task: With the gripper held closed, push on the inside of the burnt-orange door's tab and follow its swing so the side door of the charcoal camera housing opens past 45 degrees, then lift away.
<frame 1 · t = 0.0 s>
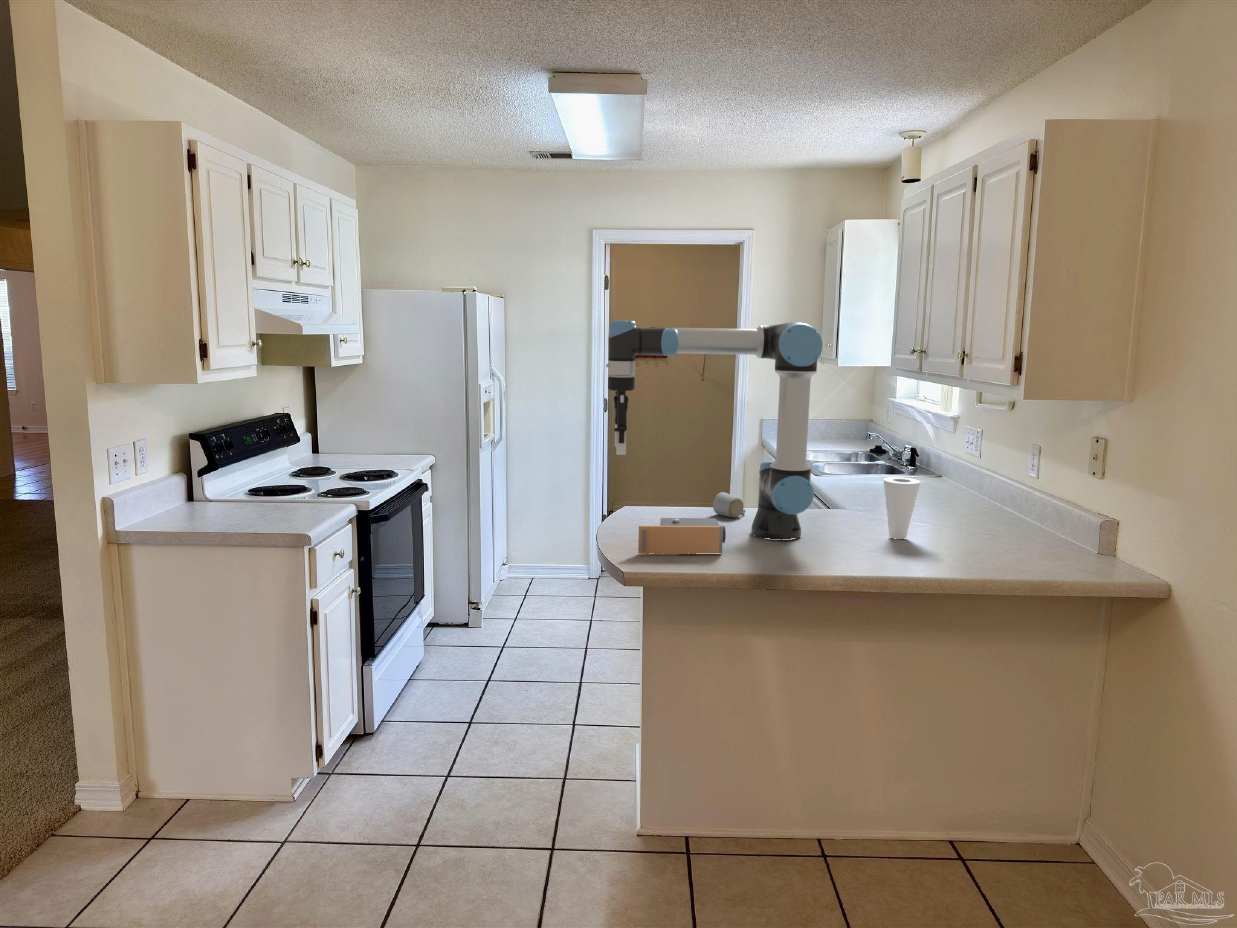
hand: (620, 450, 238), 28 cm above the counter, tool pointing down, fingers open, 13 cm apart
camera housing: (689, 549, 240), on the counter
ceramic mug: (730, 516, 282), on the counter
door: (680, 540, 233), point 4 cm above the counter, hinge at 0.0°
cup: (897, 538, 257), on the counter
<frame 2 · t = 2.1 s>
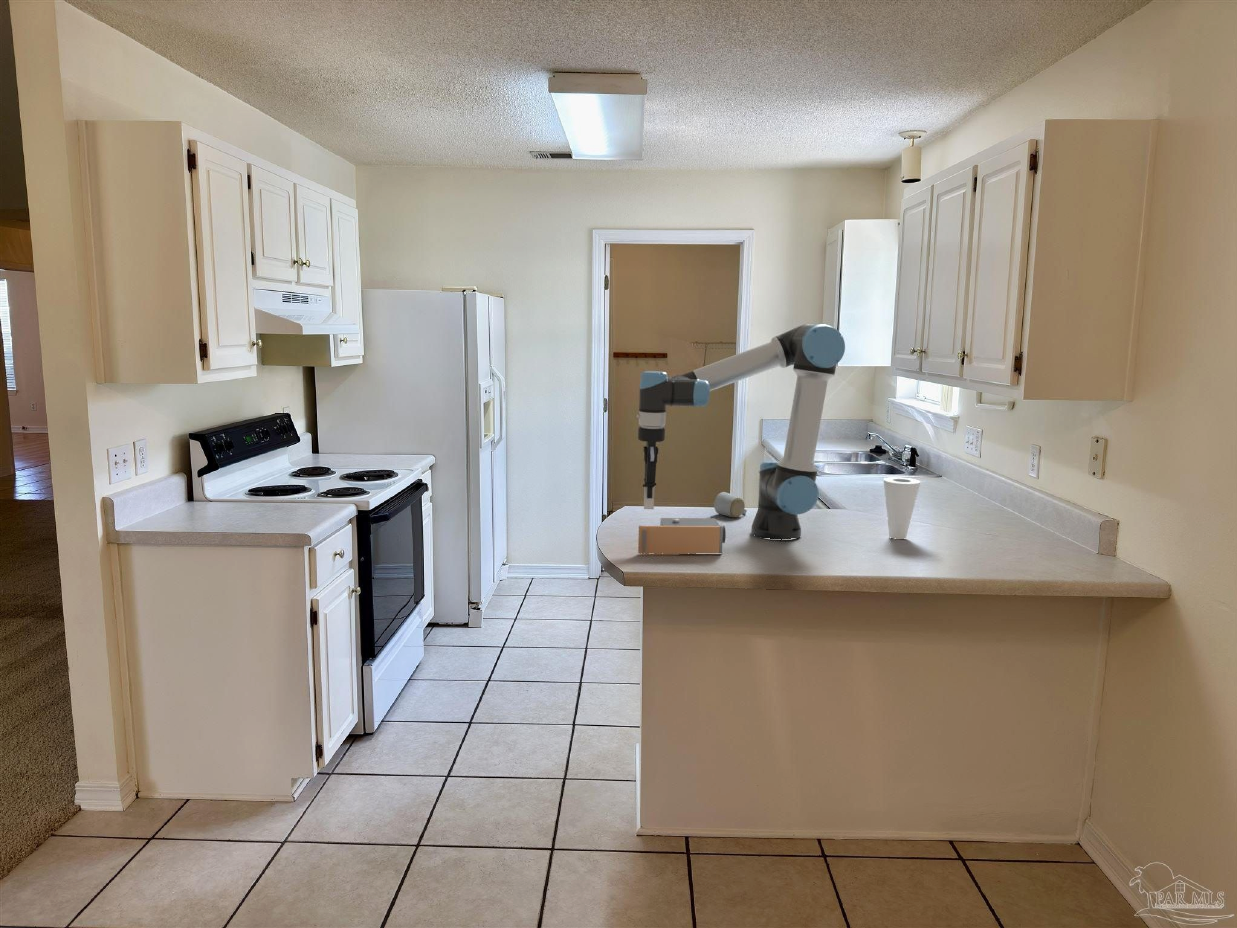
hand: (648, 508, 238), 12 cm above the counter, tool pointing down, fingers closed
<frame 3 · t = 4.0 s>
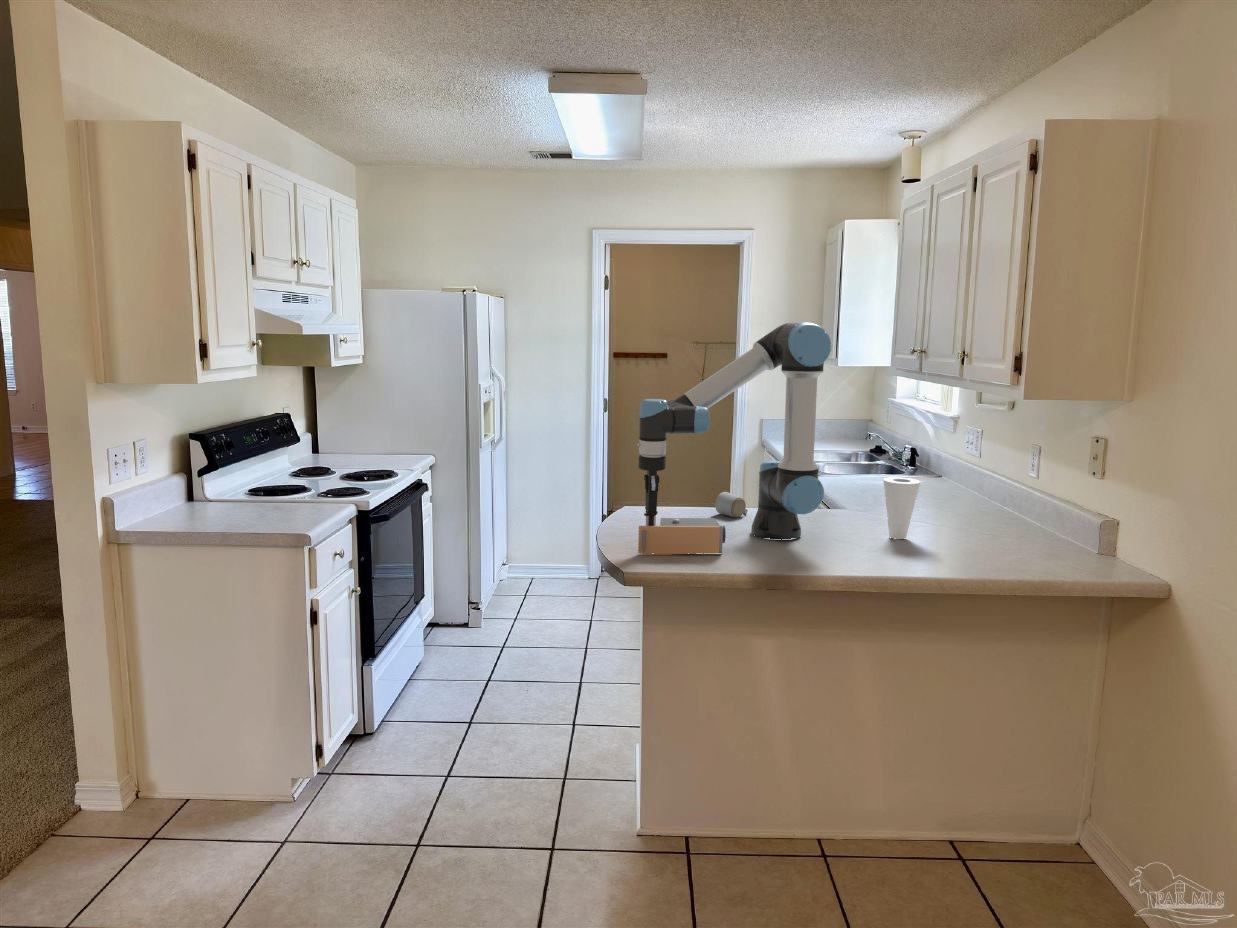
hand: (650, 537, 236), 4 cm above the counter, tool pointing down, fingers closed
door: (680, 540, 233), point 4 cm above the counter, hinge at 0.2°, touching gripper
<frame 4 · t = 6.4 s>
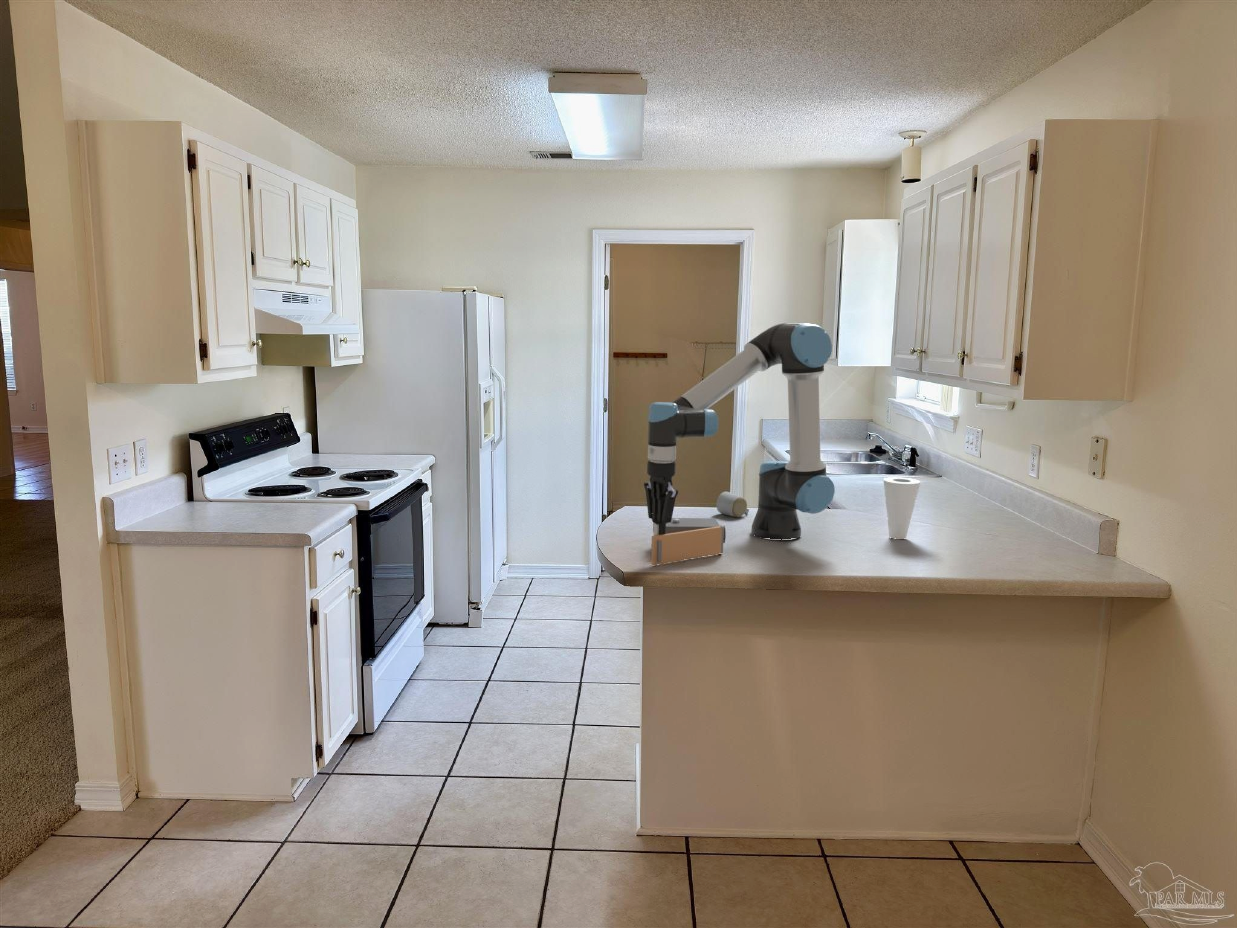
hand: (658, 546, 226), 5 cm above the counter, tool pointing down, fingers closed
door: (689, 545, 228), point 4 cm above the counter, hinge at 28.9°, touching gripper
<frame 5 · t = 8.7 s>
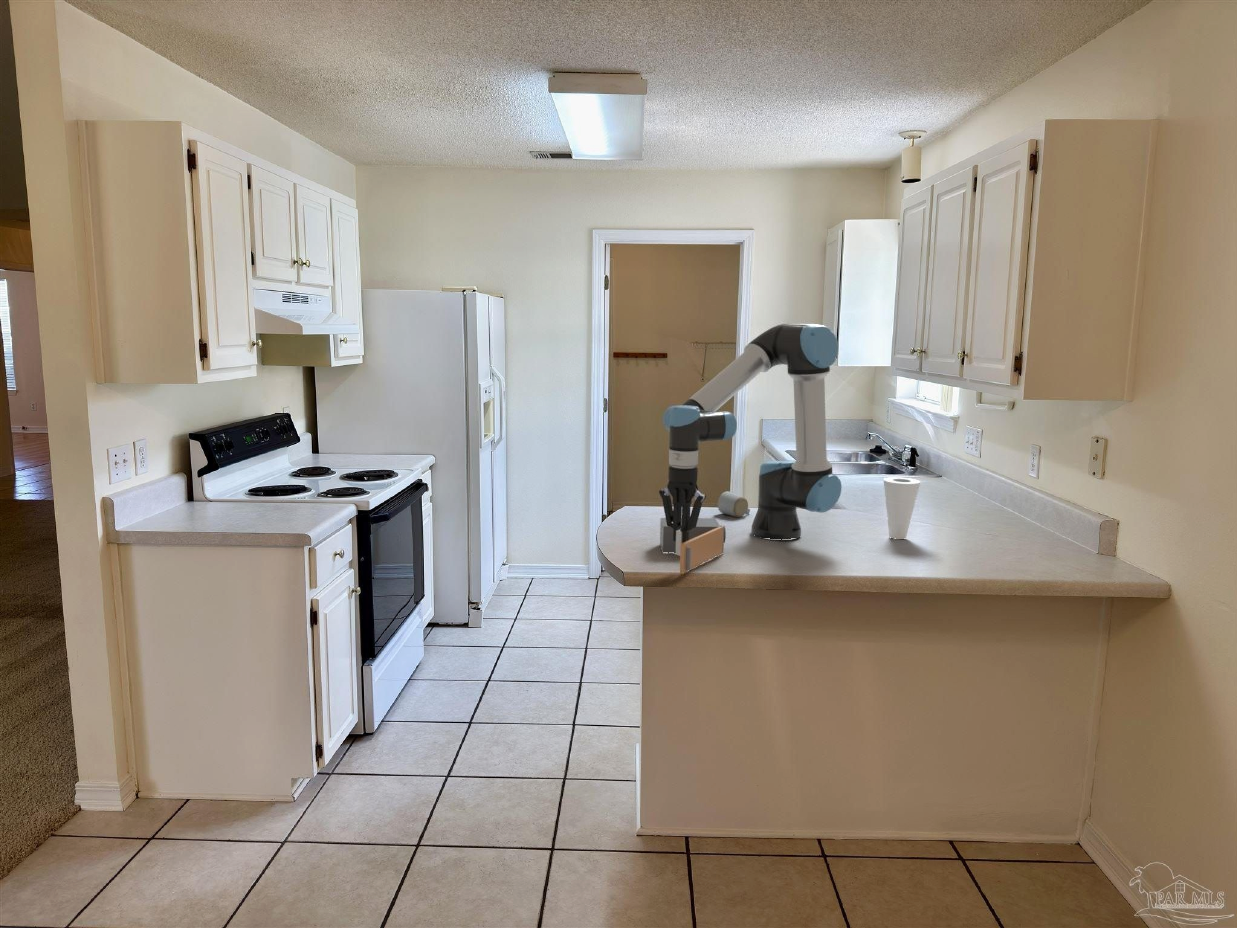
hand: (680, 553, 220), 4 cm above the counter, tool pointing down, fingers closed
door: (704, 549, 225), point 4 cm above the counter, hinge at 54.7°, touching gripper
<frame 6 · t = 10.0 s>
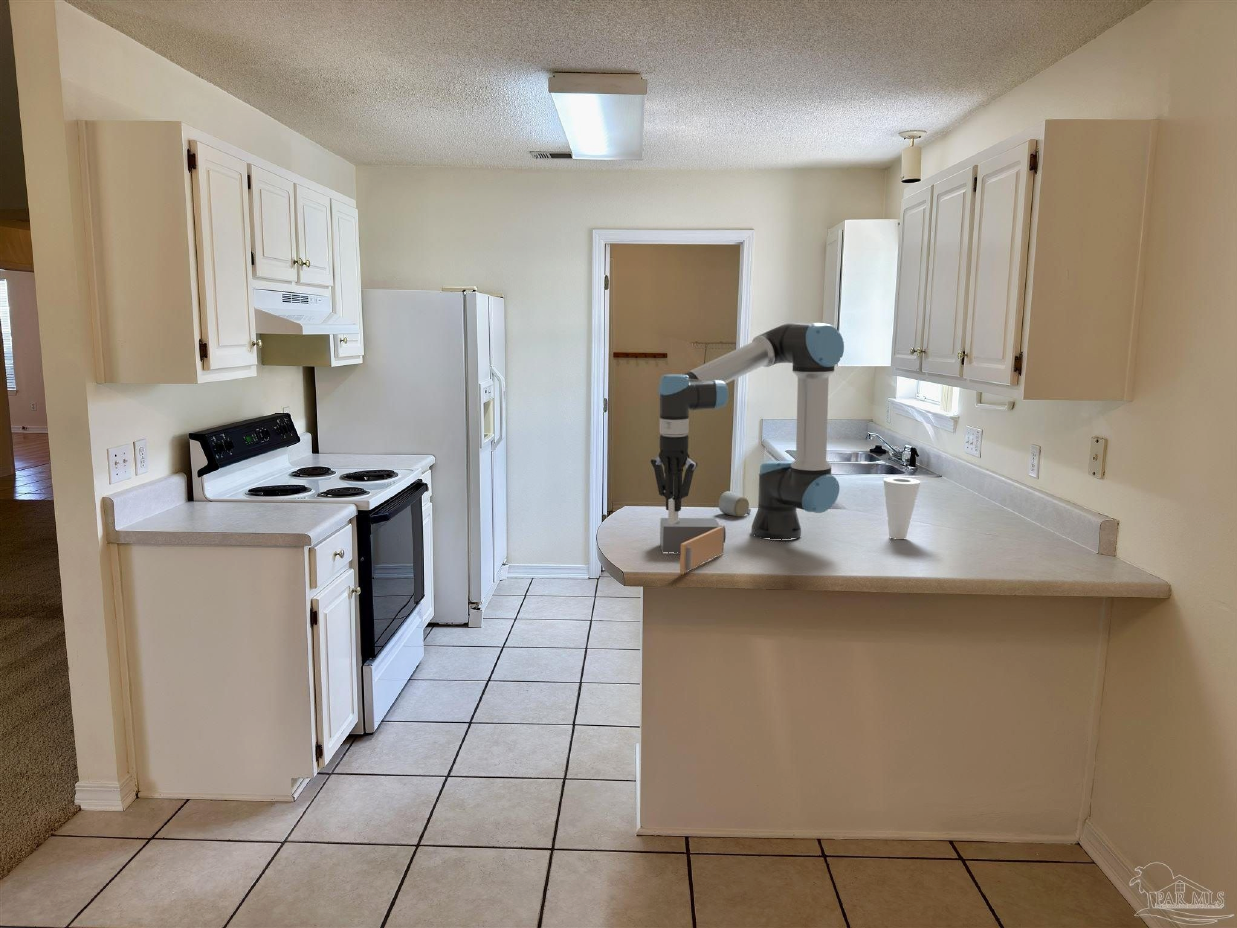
hand: (673, 522, 221), 12 cm above the counter, tool pointing down, fingers closed
door: (704, 549, 225), point 4 cm above the counter, hinge at 54.8°
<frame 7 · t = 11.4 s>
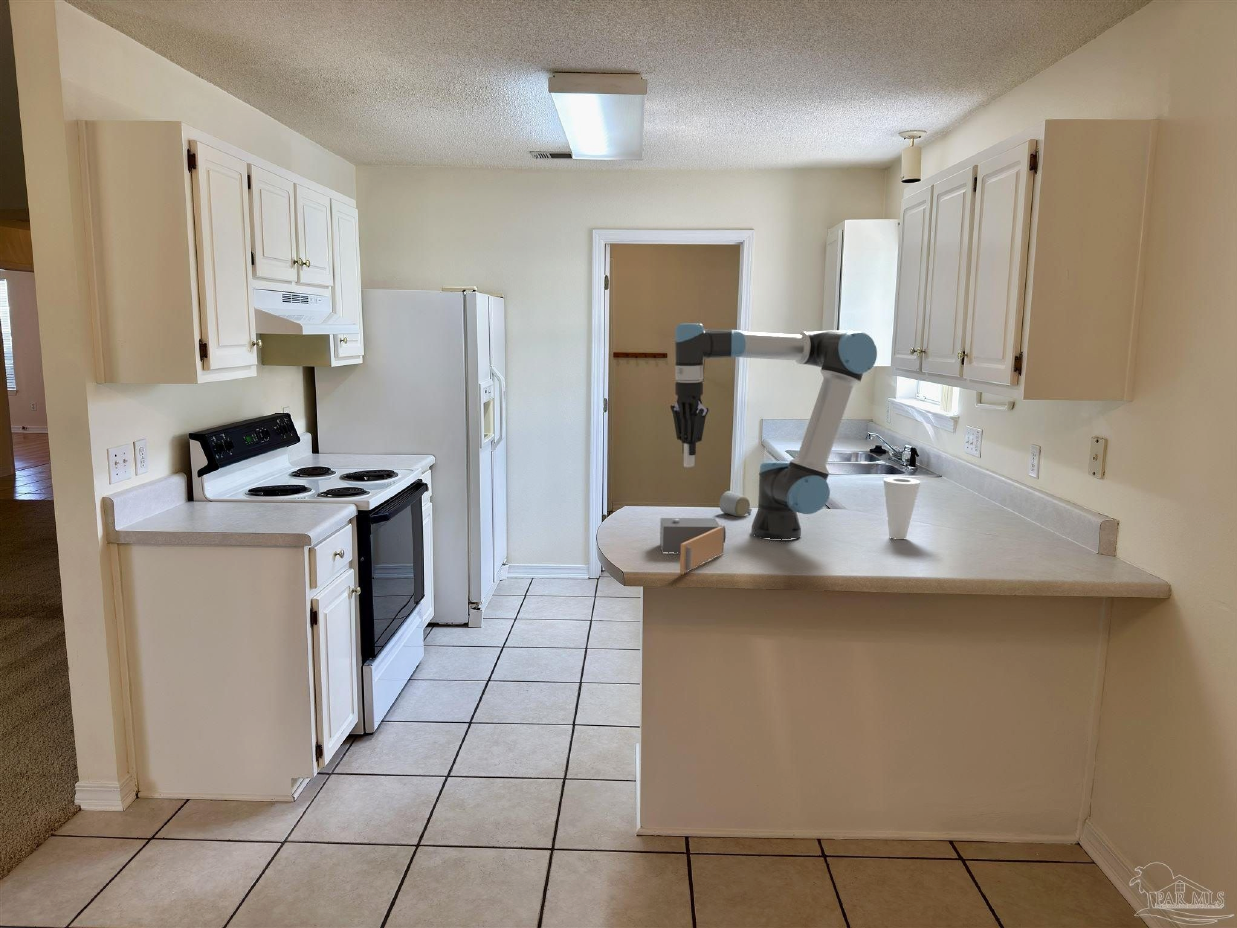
hand: (689, 466, 231), 25 cm above the counter, tool pointing down, fingers closed
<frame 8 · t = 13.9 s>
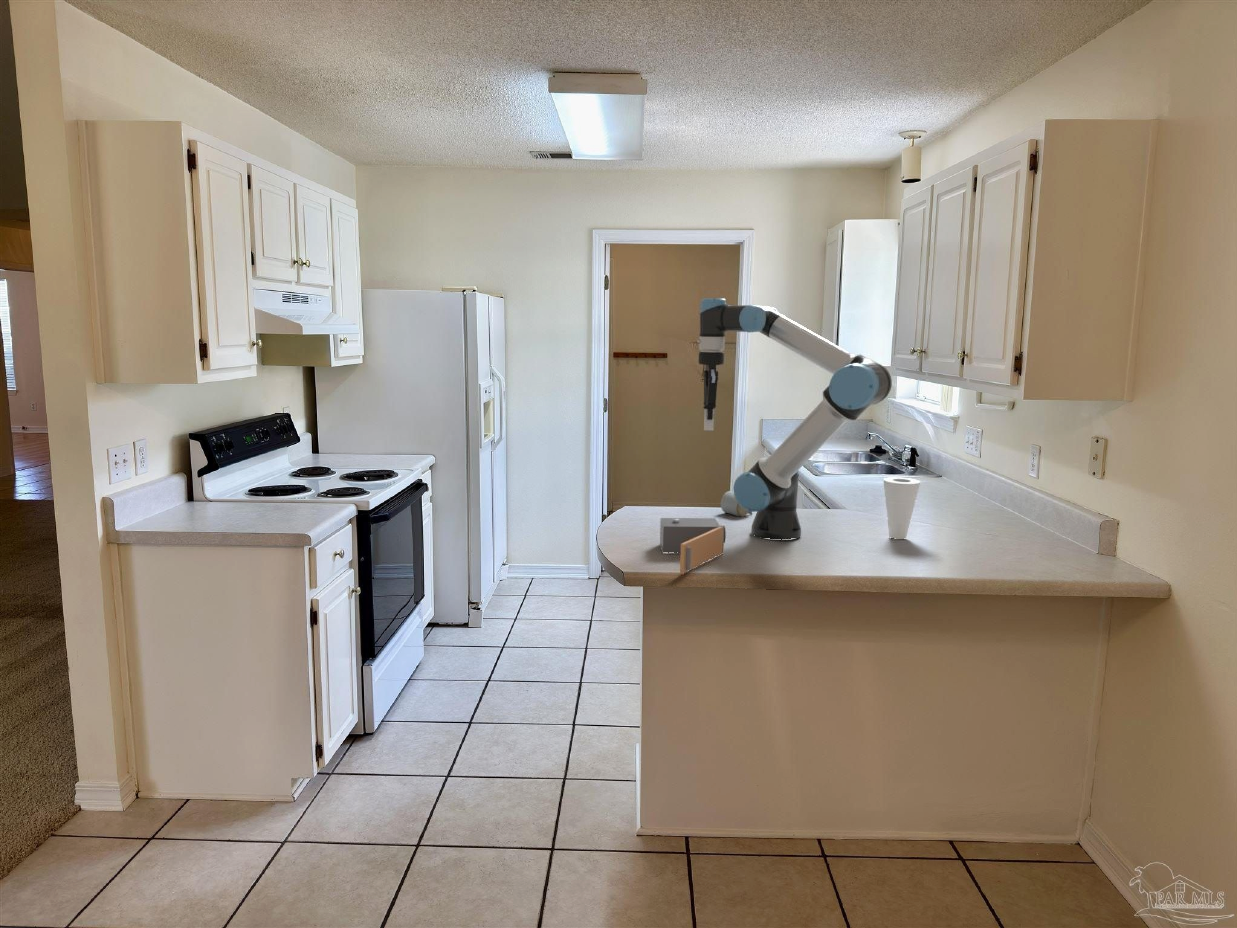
hand: (708, 430, 252), 32 cm above the counter, tool pointing down, fingers closed
at the end: door at +55° (first picture: +0°); ceramic mug moved 3.8 cm from its start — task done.
